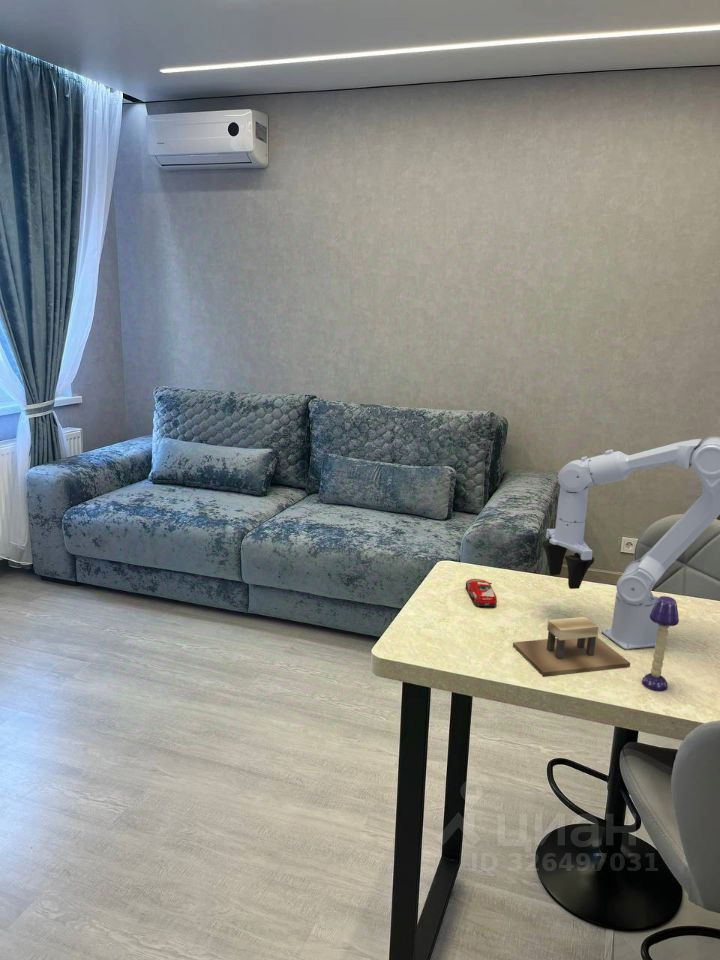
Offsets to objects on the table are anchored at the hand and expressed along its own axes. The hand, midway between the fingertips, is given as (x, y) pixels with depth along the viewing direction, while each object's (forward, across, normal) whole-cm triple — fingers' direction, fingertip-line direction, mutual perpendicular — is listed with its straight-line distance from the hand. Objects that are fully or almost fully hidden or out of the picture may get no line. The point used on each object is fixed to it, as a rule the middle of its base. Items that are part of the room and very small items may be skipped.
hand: (564, 581), depth 148 cm
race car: (+10, -16, -11) cm, 22 cm away
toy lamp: (+10, +27, +3) cm, 29 cm away
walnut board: (+9, +14, -6) cm, 18 cm away
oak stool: (+9, +14, -6) cm, 17 cm away
